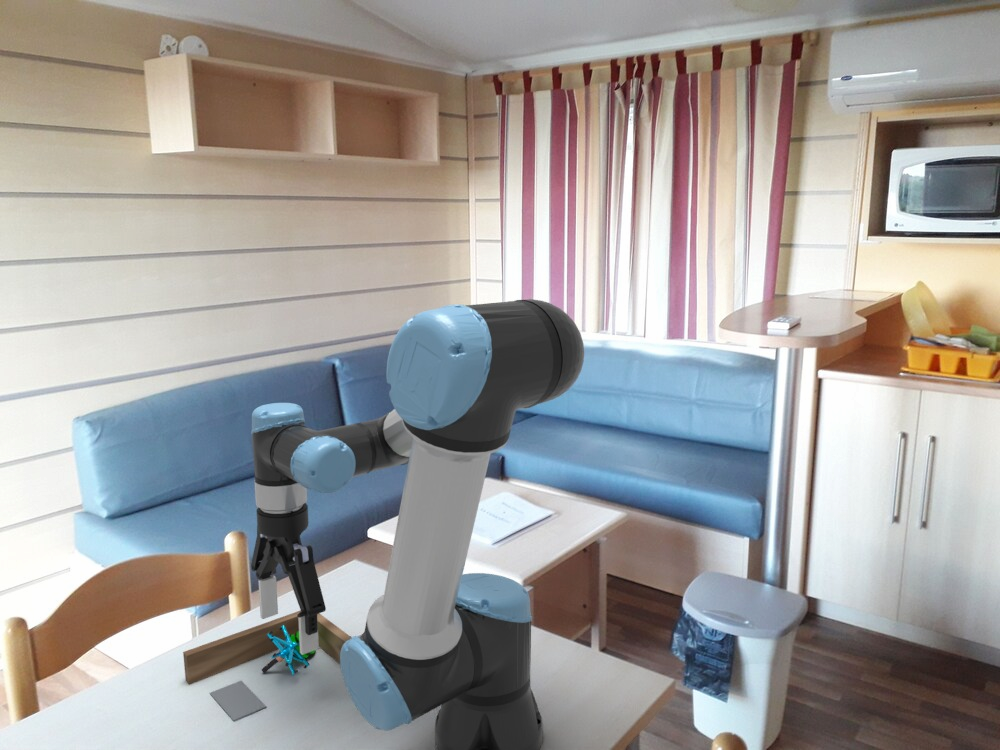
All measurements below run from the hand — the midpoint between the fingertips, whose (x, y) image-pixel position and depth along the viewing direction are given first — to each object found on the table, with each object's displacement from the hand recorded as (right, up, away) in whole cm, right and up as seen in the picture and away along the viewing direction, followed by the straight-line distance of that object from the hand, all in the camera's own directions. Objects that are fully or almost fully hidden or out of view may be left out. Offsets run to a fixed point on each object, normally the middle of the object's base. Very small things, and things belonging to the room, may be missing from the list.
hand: (288, 632), depth 123 cm
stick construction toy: (+1, -8, +3) cm, 8 cm away
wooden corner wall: (-3, -7, +2) cm, 8 cm away
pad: (-6, -9, -5) cm, 12 cm away
